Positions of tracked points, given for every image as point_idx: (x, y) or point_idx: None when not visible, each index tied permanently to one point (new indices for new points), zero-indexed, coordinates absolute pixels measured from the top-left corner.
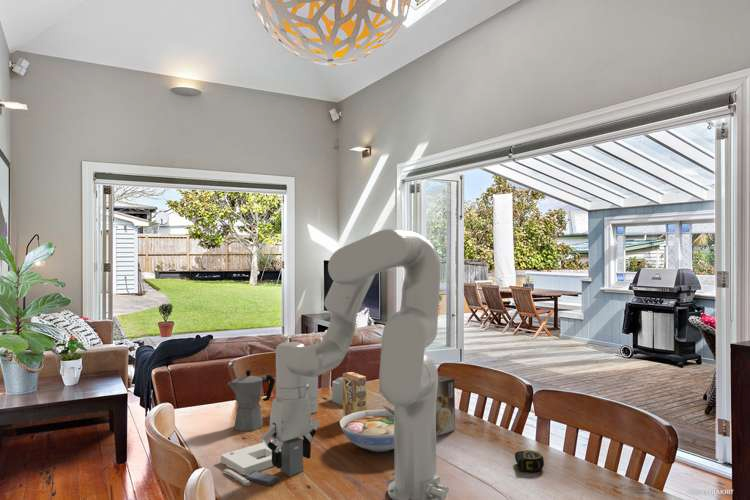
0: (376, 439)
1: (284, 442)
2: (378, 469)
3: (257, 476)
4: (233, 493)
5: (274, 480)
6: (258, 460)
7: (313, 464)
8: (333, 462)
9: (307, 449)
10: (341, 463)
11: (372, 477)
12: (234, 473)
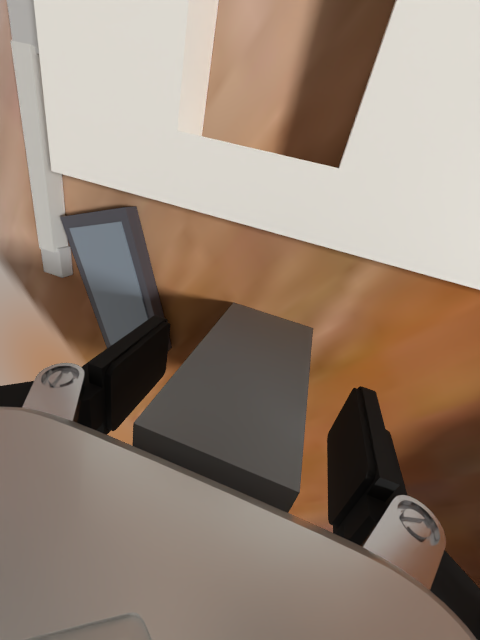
0: None
1: None
2: None
3: (100, 273)
4: (5, 268)
5: None
6: (168, 152)
7: (389, 397)
8: (454, 466)
9: (329, 481)
10: (454, 496)
11: None
12: (32, 132)
